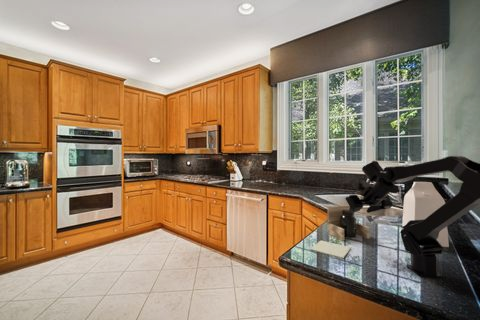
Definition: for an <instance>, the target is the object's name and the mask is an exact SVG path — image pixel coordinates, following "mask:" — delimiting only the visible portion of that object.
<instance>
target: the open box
mask: <svg viewBox="0 0 480 320" xmlns="http://www.w3.org/2000/svg"><path fill="white" fill-rule="evenodd" d="M349 207H350V206H349V205H338V206H337V205H333V206H328V205H327V207H326V208H327V209H326V210H327V211H326V212H327V219H326V220H327V224H326V225H327V230H326V231H327V234H329V235H330V236H332V237H334V238H336V239H338V240H340V241H345V237H344V229H343V228H340V217H341V216H342V215H343V214H342V210H349ZM353 216H354V217H355V214H354V215H353ZM356 235H358V236H360V237H362V238H364V239H370V227H369V226H367V225H365V224H362V223H358V222H356Z"/></svg>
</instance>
